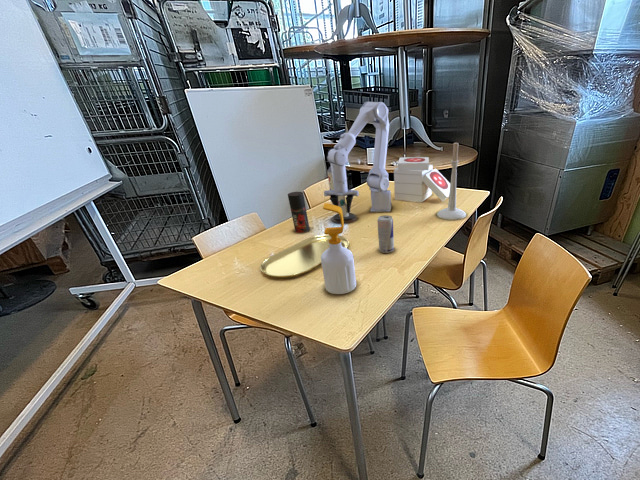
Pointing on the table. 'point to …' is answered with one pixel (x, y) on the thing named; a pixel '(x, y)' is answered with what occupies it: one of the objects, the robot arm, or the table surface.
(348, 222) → the turntable base
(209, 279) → the table surface
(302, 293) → the table surface
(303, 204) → the deodorant
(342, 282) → the soap bottle
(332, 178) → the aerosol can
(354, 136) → the robot arm
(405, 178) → the pizza boxes
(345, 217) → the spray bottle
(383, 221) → the energy drink
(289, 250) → the serving platter
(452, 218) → the candlestick
